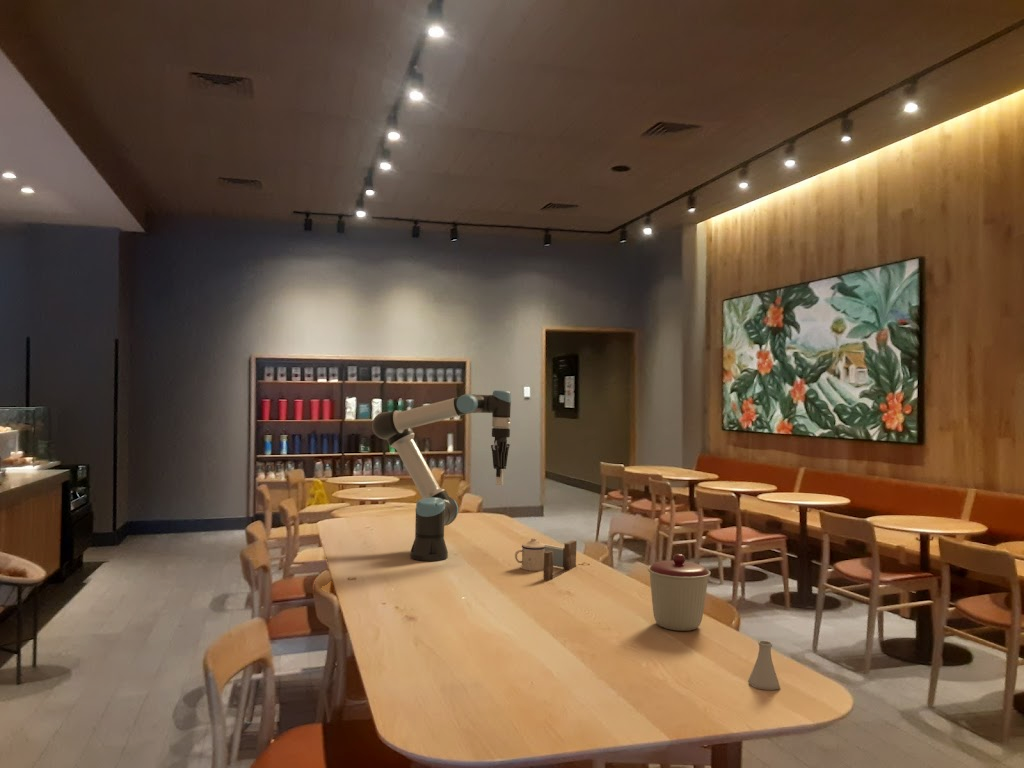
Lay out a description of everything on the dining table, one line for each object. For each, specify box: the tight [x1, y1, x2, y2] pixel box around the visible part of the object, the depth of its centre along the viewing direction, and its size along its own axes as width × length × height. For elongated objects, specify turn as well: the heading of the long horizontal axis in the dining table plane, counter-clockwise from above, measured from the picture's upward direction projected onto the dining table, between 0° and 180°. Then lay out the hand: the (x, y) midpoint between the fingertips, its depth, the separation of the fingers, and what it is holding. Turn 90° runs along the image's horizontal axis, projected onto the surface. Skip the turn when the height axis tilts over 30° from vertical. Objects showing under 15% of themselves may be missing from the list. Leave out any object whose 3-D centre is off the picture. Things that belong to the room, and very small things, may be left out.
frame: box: [542, 540, 577, 581], centre depth 287 cm, size 2×28×10 cm, turn 154°
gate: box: [543, 543, 564, 569], centre depth 299 cm, size 14×1×8 cm, turn 50°
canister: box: [647, 553, 711, 632], centre depth 224 cm, size 18×18×21 cm
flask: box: [748, 639, 781, 691], centre depth 179 cm, size 7×7×10 cm
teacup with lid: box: [514, 537, 545, 572], centre depth 293 cm, size 12×9×12 cm
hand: (499, 484), depth 316 cm, fingers closed
